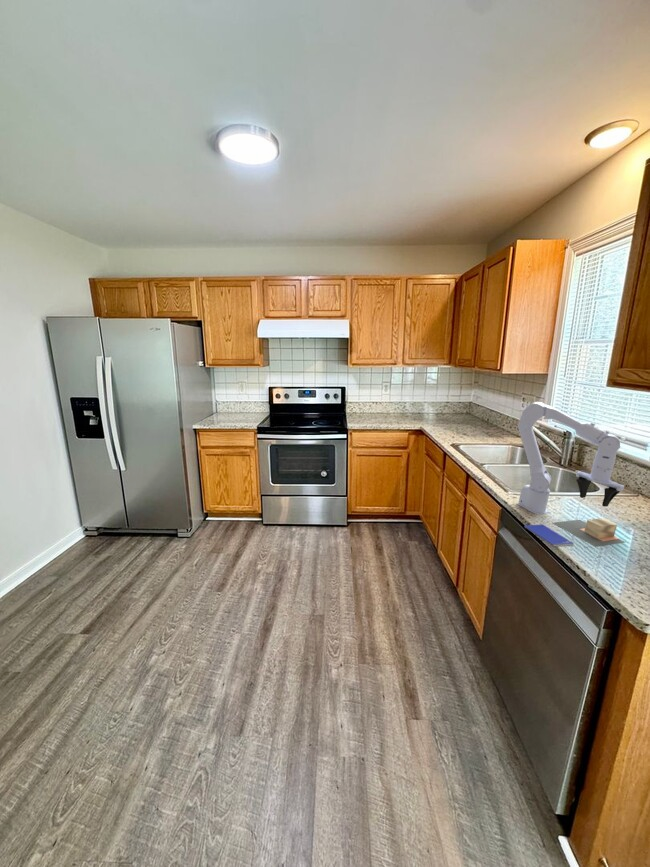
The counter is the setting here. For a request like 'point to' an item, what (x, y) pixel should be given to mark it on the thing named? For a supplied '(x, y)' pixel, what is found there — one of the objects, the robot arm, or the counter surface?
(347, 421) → the counter surface
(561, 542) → the hard drive
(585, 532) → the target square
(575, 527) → the rubber mat
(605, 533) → the maple block
